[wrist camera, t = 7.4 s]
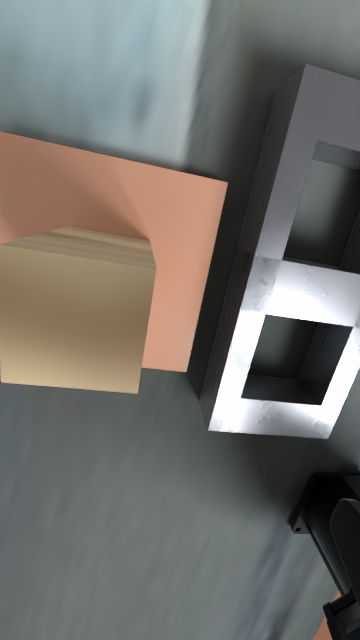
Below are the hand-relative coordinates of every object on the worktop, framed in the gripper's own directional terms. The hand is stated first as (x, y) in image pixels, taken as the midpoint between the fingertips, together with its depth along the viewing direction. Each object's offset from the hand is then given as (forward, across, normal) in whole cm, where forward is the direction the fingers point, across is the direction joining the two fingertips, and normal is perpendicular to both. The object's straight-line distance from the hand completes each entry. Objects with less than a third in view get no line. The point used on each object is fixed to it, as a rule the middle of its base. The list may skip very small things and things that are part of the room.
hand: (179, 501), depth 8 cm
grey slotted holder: (+12, -7, -4) cm, 14 cm away
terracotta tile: (+11, +4, -3) cm, 12 cm away
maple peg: (+10, +4, -3) cm, 12 cm away
